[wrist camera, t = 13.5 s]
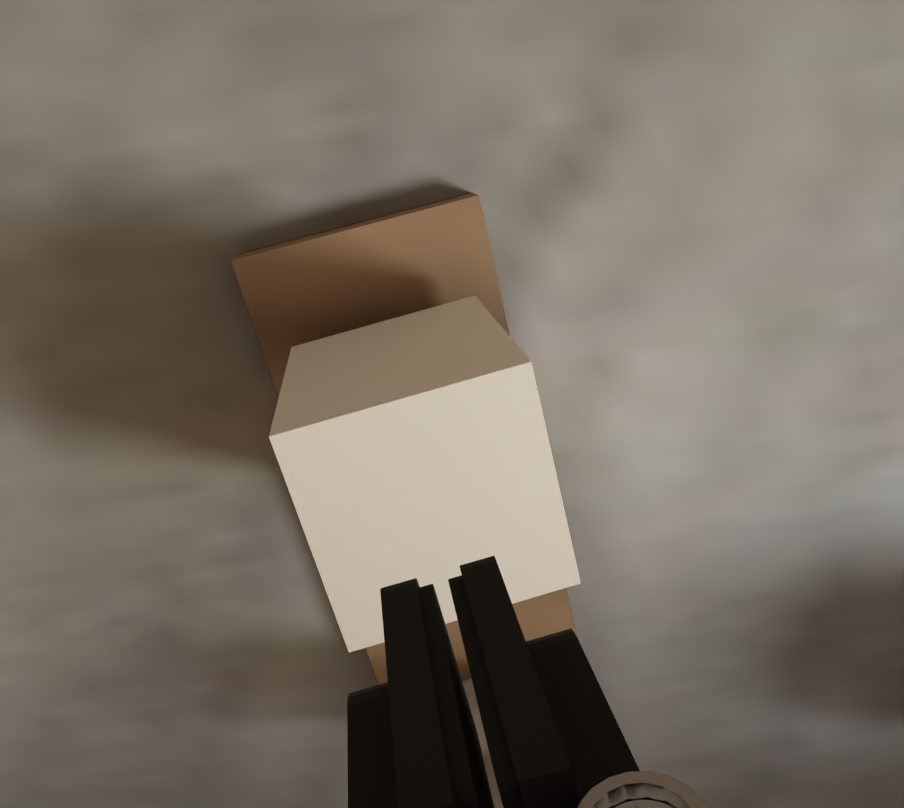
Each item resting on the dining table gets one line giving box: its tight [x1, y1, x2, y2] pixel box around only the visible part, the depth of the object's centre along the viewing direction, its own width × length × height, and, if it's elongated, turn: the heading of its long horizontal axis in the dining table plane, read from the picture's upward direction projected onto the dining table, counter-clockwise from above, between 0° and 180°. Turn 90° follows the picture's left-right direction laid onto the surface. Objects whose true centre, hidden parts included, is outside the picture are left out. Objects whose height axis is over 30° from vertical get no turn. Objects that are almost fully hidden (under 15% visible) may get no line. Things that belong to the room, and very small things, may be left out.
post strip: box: [231, 193, 577, 808], centre depth 22 cm, size 22×7×8 cm, turn 14°
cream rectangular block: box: [269, 296, 581, 653], centre depth 18 cm, size 5×5×7 cm
